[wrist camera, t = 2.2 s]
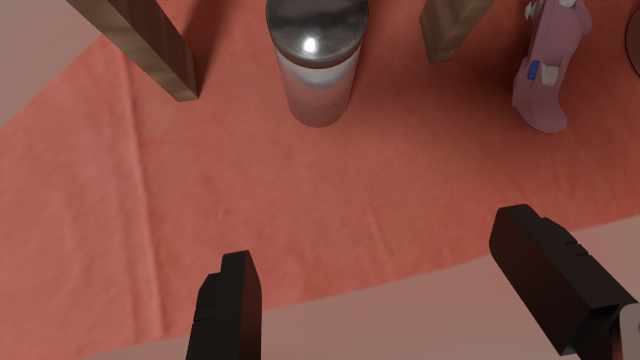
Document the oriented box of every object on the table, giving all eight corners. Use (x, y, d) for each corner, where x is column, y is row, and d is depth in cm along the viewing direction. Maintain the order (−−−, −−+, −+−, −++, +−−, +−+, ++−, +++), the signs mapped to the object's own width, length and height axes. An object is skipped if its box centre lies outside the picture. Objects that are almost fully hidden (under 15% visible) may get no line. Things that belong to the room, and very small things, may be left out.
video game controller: (525, 28, 30) (536, -38, 24) (589, 29, 27) (619, -44, 21) (496, 131, 28) (500, 89, 22) (561, 141, 26) (584, 97, 20)
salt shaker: (342, 65, 27) (358, -43, 16) (353, 122, 27) (377, 50, 16) (283, 74, 27) (258, -28, 16) (292, 132, 27) (273, 66, 16)
